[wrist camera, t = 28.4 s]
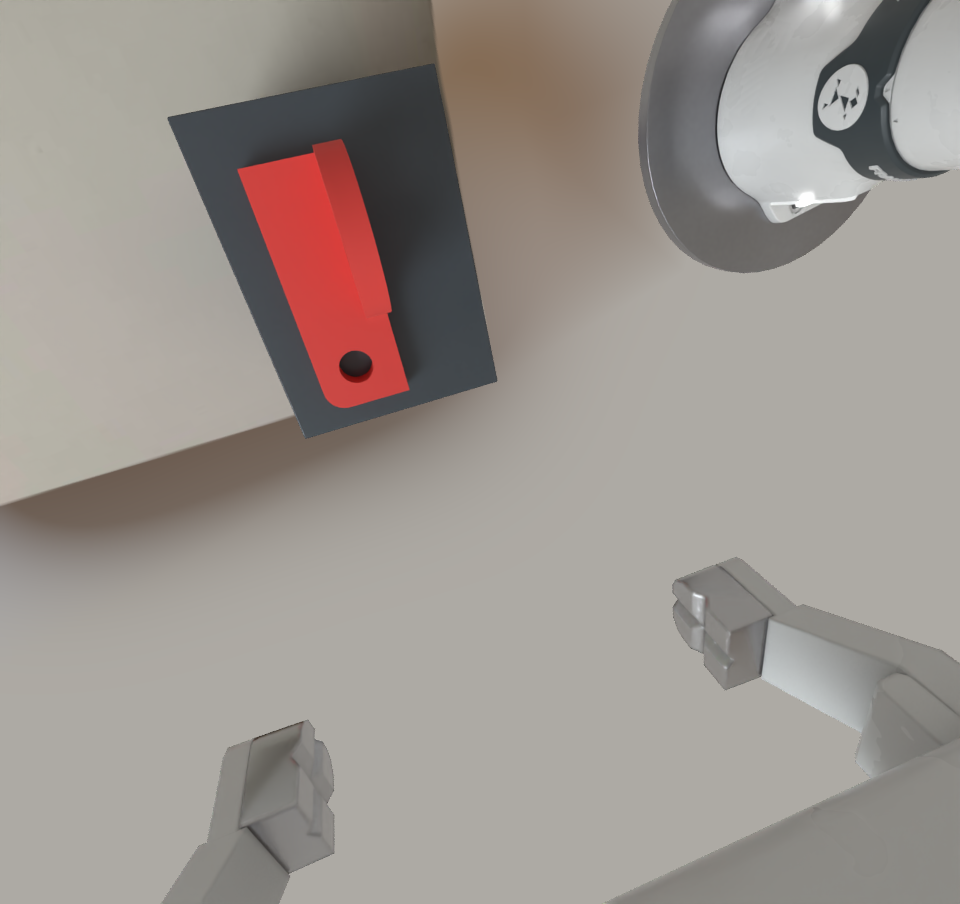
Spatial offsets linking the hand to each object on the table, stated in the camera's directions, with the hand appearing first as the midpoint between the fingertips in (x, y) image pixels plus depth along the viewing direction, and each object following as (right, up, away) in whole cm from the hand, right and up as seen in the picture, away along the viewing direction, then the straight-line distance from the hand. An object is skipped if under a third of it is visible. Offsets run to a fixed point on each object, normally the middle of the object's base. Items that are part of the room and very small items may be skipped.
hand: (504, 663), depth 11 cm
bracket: (-8, +13, +16) cm, 22 cm away
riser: (-11, +21, +29) cm, 38 cm away
